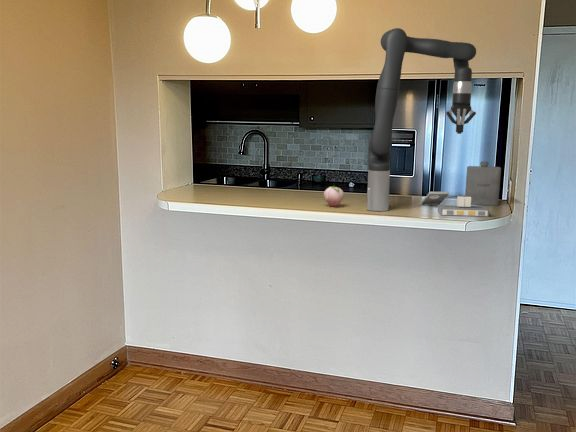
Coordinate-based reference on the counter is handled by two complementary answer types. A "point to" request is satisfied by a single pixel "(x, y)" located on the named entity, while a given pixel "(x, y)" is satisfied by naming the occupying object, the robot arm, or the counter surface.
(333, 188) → the decorative fruit
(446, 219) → the counter surface
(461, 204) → the slider left
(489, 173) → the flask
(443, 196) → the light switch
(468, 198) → the slider right
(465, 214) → the switch unit
